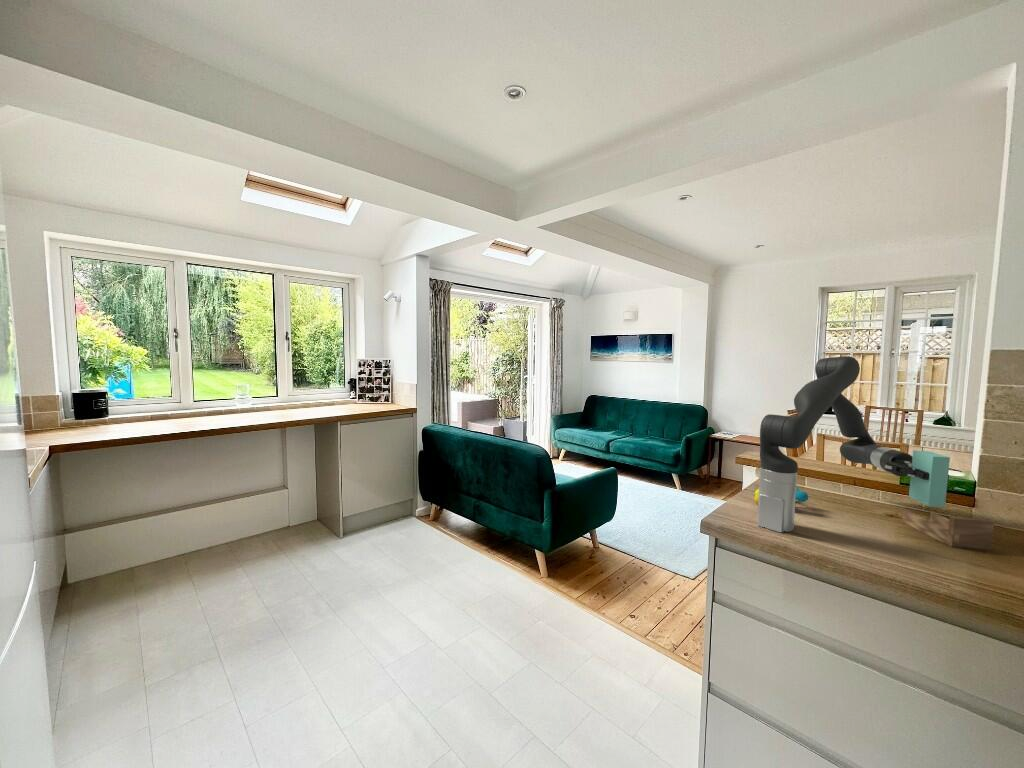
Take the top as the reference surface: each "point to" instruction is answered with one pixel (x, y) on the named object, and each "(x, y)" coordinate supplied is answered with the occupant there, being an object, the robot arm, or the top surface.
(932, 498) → the teal rectangular block
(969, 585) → the top surface
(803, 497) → the molecular model
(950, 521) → the brown wooden drawer
